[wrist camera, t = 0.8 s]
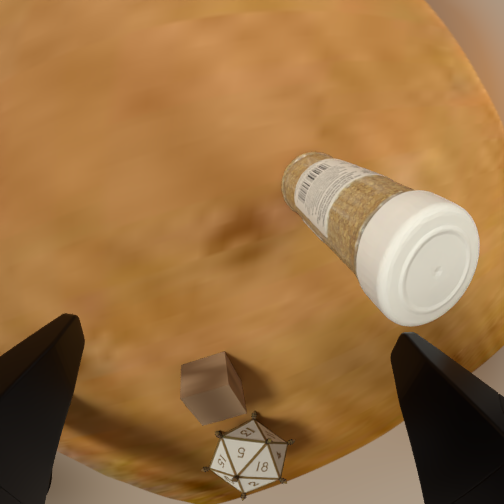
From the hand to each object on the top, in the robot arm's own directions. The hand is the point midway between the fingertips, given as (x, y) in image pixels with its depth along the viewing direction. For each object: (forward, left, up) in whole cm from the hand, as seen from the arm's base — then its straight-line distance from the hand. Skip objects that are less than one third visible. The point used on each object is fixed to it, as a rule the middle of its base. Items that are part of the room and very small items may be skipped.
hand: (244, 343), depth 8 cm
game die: (0, -24, -14) cm, 28 cm away
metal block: (-2, -15, -14) cm, 21 cm away
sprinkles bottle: (+6, +1, -14) cm, 16 cm away
